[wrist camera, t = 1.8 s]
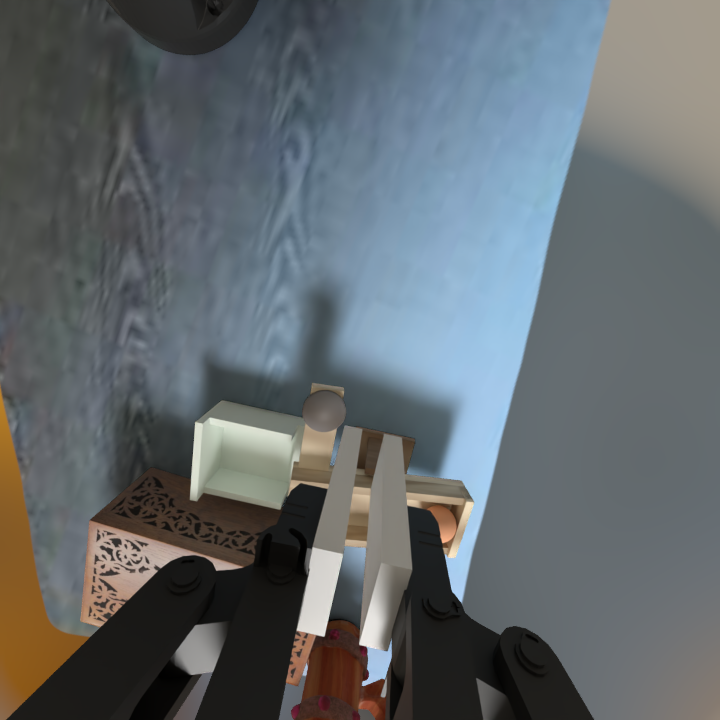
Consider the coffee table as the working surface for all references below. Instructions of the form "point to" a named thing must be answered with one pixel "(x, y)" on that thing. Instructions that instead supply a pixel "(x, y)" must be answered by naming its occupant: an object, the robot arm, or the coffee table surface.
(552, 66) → the coffee table surface
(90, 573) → the tissue box cover
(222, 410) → the bin
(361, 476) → the lever
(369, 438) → the fulcrum
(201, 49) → the robot arm
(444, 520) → the ball
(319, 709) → the mug
